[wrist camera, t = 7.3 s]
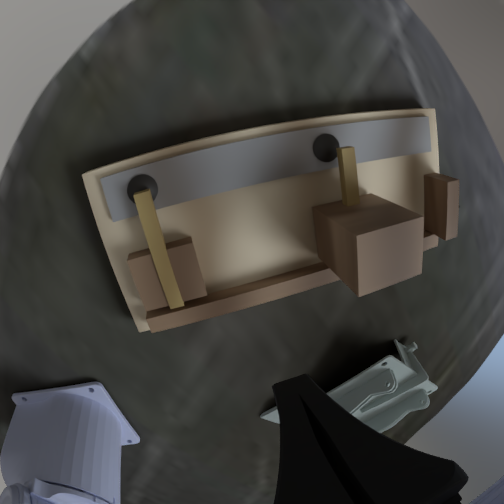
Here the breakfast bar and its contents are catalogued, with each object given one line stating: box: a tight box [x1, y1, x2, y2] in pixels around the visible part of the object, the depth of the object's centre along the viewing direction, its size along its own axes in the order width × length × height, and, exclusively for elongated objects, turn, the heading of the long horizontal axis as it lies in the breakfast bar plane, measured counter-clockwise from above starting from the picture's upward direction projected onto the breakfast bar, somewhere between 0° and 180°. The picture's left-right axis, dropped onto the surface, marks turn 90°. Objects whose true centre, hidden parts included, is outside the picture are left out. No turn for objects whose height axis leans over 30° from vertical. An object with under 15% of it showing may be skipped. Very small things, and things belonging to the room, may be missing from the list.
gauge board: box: [82, 108, 459, 333], centre depth 18 cm, size 22×10×4 cm, turn 101°
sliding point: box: [312, 146, 424, 297], centre depth 16 cm, size 4×6×5 cm, turn 11°
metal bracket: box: [260, 339, 438, 433], centre depth 28 cm, size 14×6×15 cm
